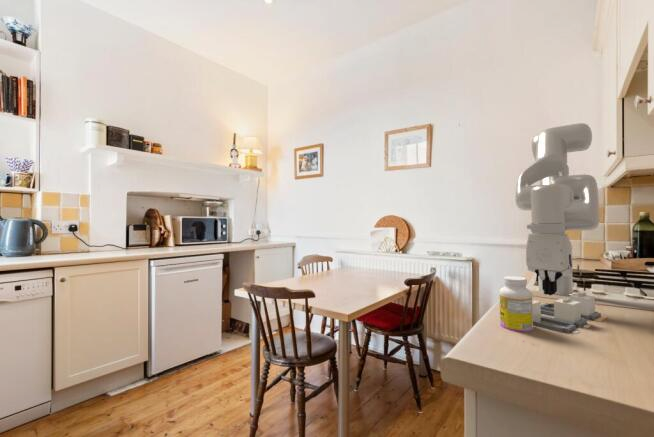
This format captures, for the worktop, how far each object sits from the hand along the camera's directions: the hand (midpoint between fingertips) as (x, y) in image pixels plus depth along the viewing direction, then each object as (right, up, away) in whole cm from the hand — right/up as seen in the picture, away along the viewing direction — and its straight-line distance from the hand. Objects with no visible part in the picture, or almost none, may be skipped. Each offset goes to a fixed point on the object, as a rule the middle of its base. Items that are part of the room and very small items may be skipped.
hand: (549, 293), depth 89 cm
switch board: (-4, -5, -9) cm, 11 cm away
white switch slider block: (+3, -4, -8) cm, 9 cm away
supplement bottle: (-18, -6, -15) cm, 24 cm away
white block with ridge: (-4, -4, -12) cm, 14 cm away
